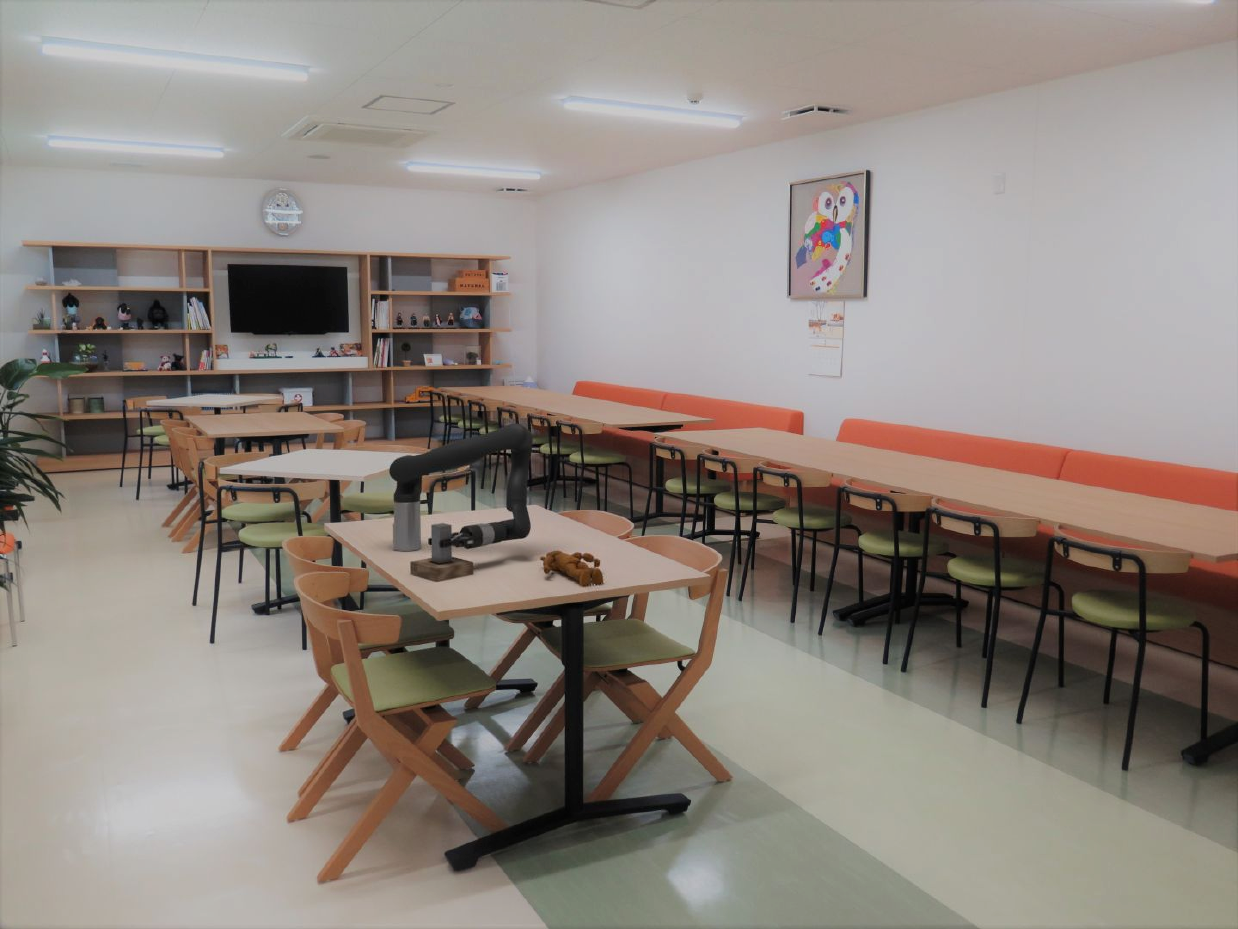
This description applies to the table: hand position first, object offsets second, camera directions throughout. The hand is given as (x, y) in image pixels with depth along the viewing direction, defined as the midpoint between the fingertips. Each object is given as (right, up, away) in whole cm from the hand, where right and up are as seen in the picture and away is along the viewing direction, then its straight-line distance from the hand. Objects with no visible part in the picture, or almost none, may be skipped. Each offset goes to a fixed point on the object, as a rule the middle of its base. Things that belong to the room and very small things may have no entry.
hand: (434, 543), depth 309 cm
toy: (+42, -11, +3) cm, 44 cm away
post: (+2, -10, +3) cm, 11 cm away
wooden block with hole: (+2, -10, +3) cm, 11 cm away
